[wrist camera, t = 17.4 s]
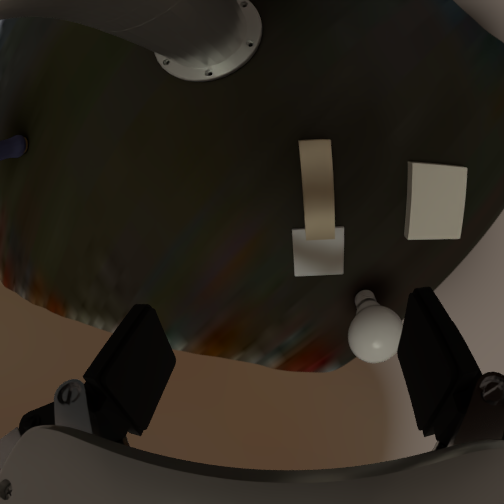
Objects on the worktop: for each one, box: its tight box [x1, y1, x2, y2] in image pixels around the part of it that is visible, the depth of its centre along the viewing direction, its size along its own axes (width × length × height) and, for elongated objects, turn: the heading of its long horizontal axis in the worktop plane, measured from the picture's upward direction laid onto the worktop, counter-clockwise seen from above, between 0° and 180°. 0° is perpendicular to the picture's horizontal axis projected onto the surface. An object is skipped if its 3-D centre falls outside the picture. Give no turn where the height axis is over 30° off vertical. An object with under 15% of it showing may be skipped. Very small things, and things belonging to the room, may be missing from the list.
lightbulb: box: [348, 290, 403, 363], centre depth 29 cm, size 6×6×11 cm
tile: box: [404, 161, 467, 240], centre depth 27 cm, size 2×8×9 cm
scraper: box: [292, 139, 344, 276], centre depth 29 cm, size 16×6×4 cm, turn 7°
